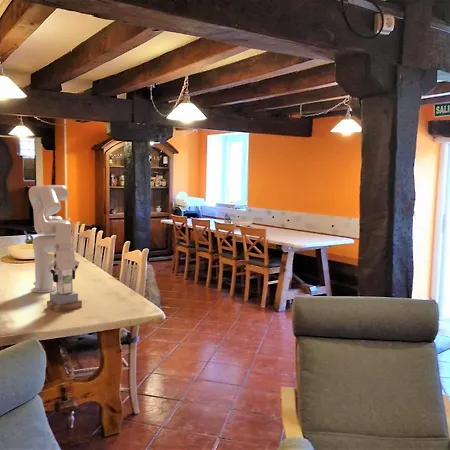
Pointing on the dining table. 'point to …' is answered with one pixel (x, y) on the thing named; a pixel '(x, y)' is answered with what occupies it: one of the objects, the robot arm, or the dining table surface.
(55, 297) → the slate top block
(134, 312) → the dining table surface
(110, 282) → the dining table surface
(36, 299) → the dining table surface
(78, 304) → the walnut base block
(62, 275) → the syrup box
